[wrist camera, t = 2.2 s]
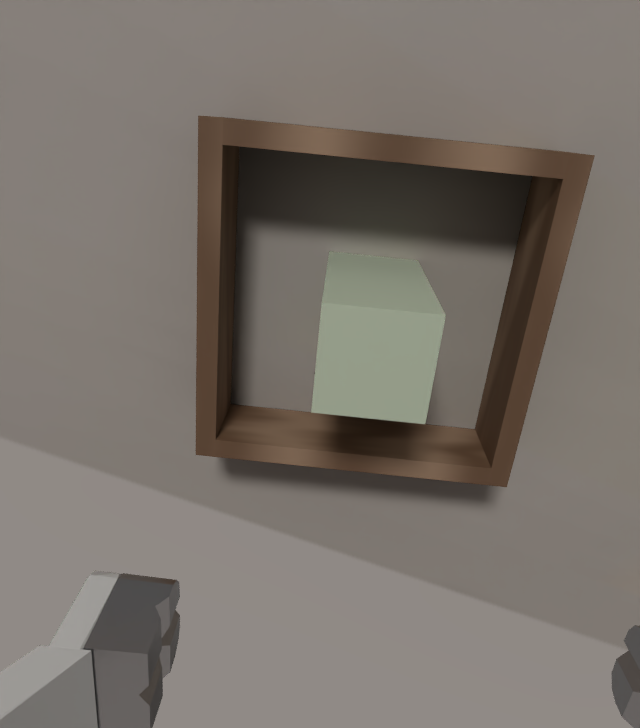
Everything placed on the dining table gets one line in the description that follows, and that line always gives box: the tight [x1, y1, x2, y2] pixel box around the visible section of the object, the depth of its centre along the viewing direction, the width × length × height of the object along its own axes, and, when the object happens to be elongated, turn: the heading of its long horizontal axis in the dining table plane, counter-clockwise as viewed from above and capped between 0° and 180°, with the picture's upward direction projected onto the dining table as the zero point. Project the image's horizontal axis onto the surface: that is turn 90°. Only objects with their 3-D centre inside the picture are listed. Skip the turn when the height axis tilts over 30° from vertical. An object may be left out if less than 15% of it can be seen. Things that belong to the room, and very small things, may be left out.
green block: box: [311, 251, 446, 424], centre depth 26 cm, size 4×4×9 cm
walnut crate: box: [196, 116, 594, 487], centre depth 28 cm, size 16×16×4 cm
